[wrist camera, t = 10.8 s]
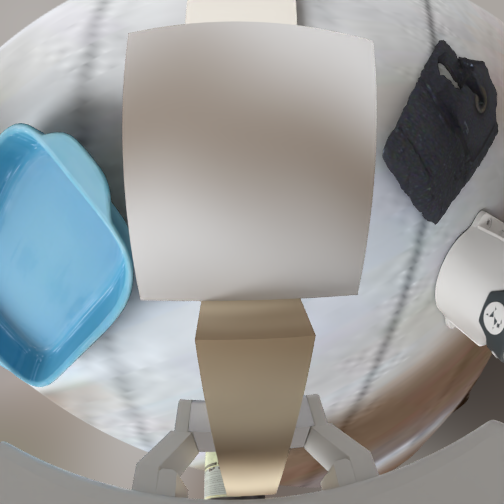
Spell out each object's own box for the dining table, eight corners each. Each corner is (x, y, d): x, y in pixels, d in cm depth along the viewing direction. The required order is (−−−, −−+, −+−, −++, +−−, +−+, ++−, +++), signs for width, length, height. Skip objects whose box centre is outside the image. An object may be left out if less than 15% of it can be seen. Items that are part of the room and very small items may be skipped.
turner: (295, 437, 14) (306, 489, 10) (198, 440, 14) (195, 495, 10) (340, 62, 7) (405, 21, 3) (153, 59, 7) (102, 8, 3)
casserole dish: (63, 85, 19) (23, 76, 12) (194, 232, 26) (182, 262, 20) (-29, 281, 26) (-53, 301, 20) (53, 373, 33) (37, 401, 27)
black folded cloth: (352, 141, 24) (374, 141, 20) (440, 34, 18) (463, 26, 14) (429, 233, 28) (453, 247, 24) (498, 123, 23) (521, 125, 18)
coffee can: (266, 434, 40) (274, 502, 27) (253, 456, 44) (258, 514, 31) (208, 430, 39) (205, 500, 26) (202, 452, 42) (200, 512, 29)
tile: (186, 58, 20) (192, -17, 16) (293, 58, 21) (290, -16, 17) (183, 52, 18) (190, -26, 15) (297, 52, 19) (294, -24, 15)
